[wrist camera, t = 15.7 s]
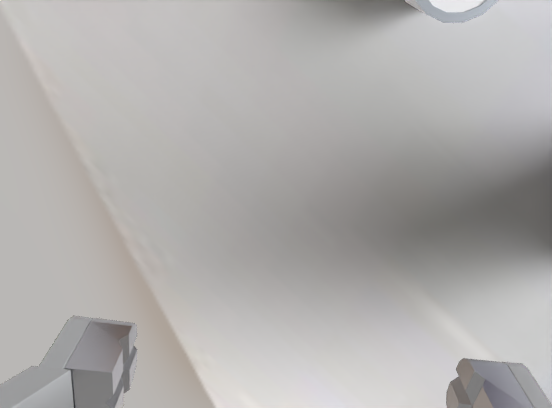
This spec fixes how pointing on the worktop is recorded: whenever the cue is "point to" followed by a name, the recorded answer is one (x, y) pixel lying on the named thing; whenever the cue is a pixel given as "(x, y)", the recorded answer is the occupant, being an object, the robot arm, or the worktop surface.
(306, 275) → the worktop surface
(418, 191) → the worktop surface
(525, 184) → the worktop surface
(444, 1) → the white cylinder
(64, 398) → the robot arm
